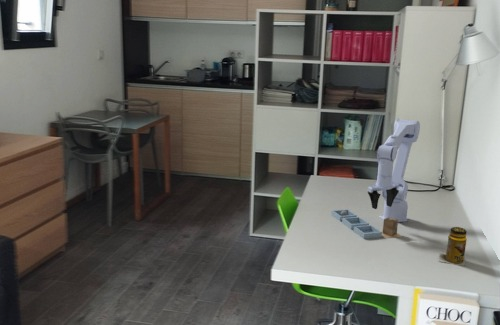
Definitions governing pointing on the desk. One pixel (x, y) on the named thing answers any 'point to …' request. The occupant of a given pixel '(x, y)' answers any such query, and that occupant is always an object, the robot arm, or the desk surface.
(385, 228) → the letter block
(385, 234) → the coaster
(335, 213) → the dish
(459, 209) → the desk surface
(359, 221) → the dish
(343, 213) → the grey ball
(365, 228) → the dish
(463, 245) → the condiment
